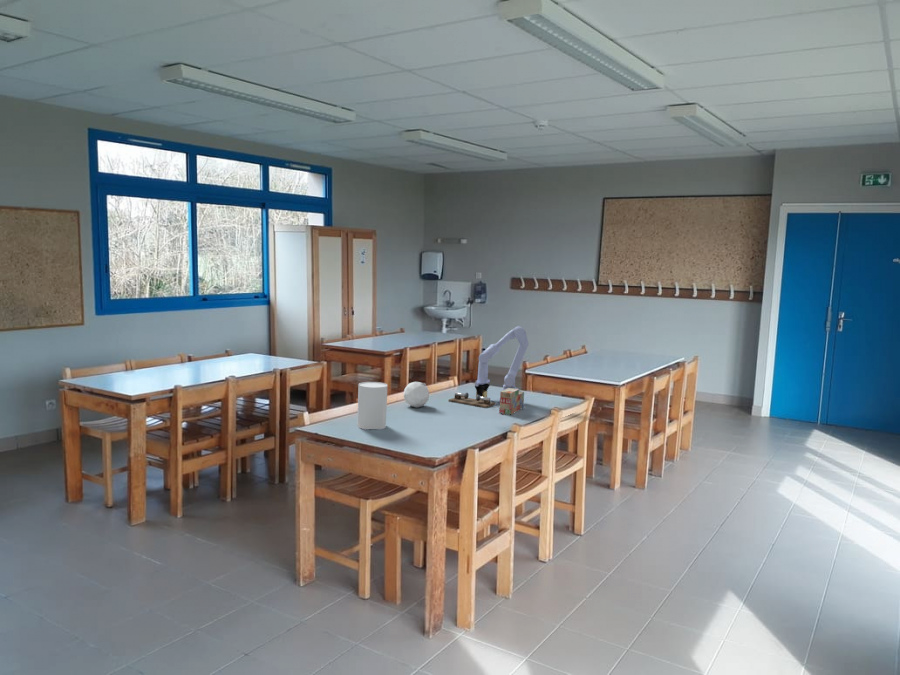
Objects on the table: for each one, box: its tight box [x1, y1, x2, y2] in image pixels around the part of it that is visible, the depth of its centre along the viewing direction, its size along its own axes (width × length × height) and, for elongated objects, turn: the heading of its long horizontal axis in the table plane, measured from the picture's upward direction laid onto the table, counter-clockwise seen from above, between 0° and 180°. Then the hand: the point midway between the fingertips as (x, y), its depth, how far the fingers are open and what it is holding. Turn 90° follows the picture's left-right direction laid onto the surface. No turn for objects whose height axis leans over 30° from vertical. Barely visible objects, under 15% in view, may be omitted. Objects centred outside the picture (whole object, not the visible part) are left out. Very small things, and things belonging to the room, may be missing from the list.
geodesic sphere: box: [403, 381, 430, 408], centre depth 361 cm, size 15×14×14 cm
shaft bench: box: [448, 394, 496, 409], centre depth 378 cm, size 24×12×3 cm, turn 59°
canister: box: [356, 381, 388, 430], centre depth 315 cm, size 14×14×20 cm
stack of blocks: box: [498, 388, 525, 416], centre depth 363 cm, size 21×6×12 cm, turn 154°
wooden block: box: [475, 390, 488, 398], centre depth 387 cm, size 5×4×5 cm
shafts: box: [454, 391, 491, 402], centre depth 378 cm, size 22×4×4 cm, turn 59°
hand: (481, 396), depth 388 cm, fingers closed on wooden block, 4 cm apart
